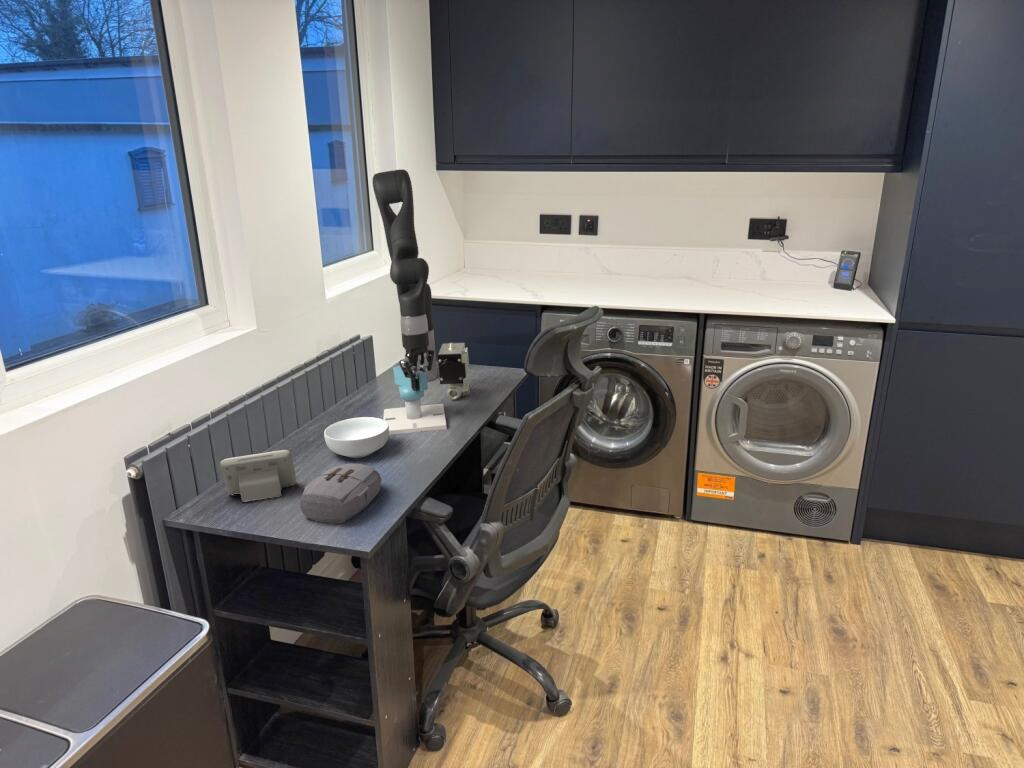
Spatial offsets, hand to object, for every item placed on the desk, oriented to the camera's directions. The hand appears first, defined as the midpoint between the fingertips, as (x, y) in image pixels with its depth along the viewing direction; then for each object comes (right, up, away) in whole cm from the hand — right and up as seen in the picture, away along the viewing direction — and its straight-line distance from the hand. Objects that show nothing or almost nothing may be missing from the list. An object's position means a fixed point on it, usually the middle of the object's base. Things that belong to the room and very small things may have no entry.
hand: (419, 388), depth 205 cm
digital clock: (-33, -25, -34) cm, 54 cm away
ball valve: (+9, -3, +25) cm, 26 cm away
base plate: (-2, -10, +6) cm, 12 cm away
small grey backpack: (-12, -26, -40) cm, 50 cm away
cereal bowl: (-14, -17, -13) cm, 26 cm away
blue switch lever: (-3, -2, +4) cm, 5 cm away
